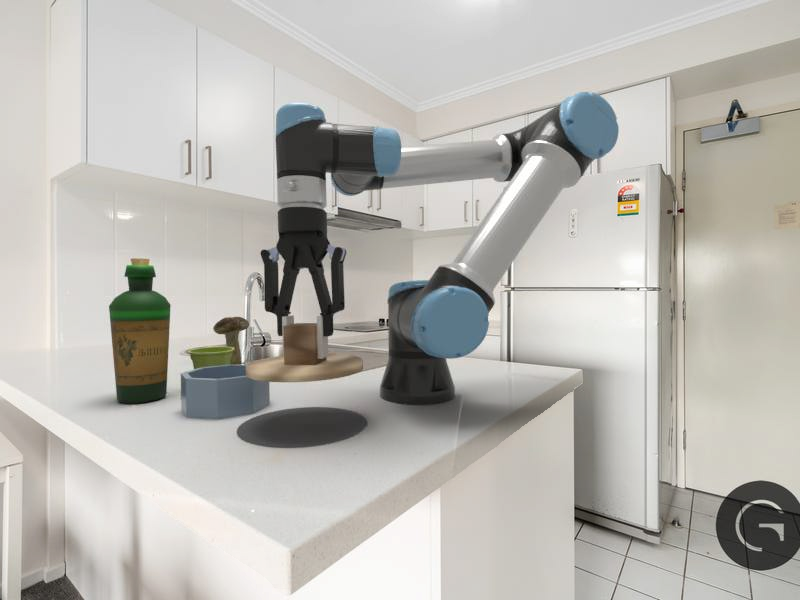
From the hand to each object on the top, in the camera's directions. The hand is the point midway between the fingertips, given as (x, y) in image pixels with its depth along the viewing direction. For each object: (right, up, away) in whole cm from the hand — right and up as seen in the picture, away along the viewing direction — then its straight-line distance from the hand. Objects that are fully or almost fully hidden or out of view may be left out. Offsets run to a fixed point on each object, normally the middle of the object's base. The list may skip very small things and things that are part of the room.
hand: (305, 356), depth 68 cm
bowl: (-17, -11, +10) cm, 23 cm away
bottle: (-37, -11, +18) cm, 42 cm away
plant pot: (-27, -11, +27) cm, 40 cm away
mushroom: (-28, -10, +42) cm, 52 cm away
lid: (0, -2, 0) cm, 2 cm away
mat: (0, -11, 0) cm, 11 cm away
